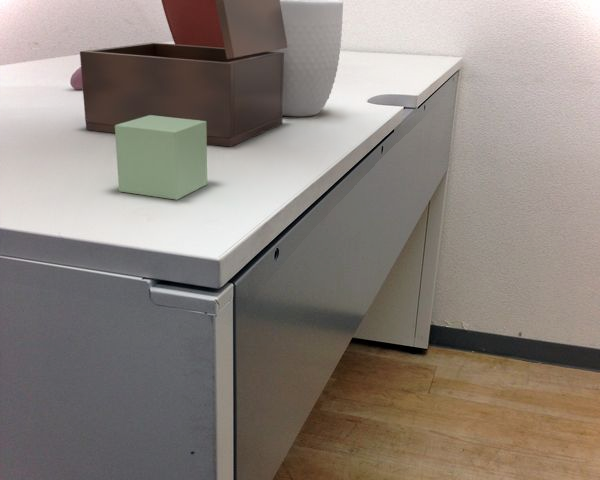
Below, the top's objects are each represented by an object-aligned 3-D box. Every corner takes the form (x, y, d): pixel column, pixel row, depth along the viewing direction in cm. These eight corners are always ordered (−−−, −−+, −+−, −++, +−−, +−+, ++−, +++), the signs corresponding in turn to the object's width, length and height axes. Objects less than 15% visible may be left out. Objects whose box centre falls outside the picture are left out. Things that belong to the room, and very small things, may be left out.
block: (118, 191, 55) (114, 125, 53) (152, 176, 59) (149, 114, 57) (177, 200, 54) (175, 132, 52) (207, 184, 58) (206, 121, 56)
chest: (85, 129, 76) (79, 51, 72) (154, 110, 88) (152, 42, 85) (230, 146, 71) (230, 63, 68) (282, 123, 83) (284, 52, 80)
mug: (233, 100, 97) (233, -6, 92) (311, 99, 100) (316, -3, 95) (261, 120, 84) (263, -1, 79) (350, 119, 87) (357, 2, 82)
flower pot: (154, 68, 126) (150, -39, 119) (212, 60, 141) (211, -35, 135) (251, 78, 118) (252, -35, 111) (301, 68, 134) (304, -32, 127)
